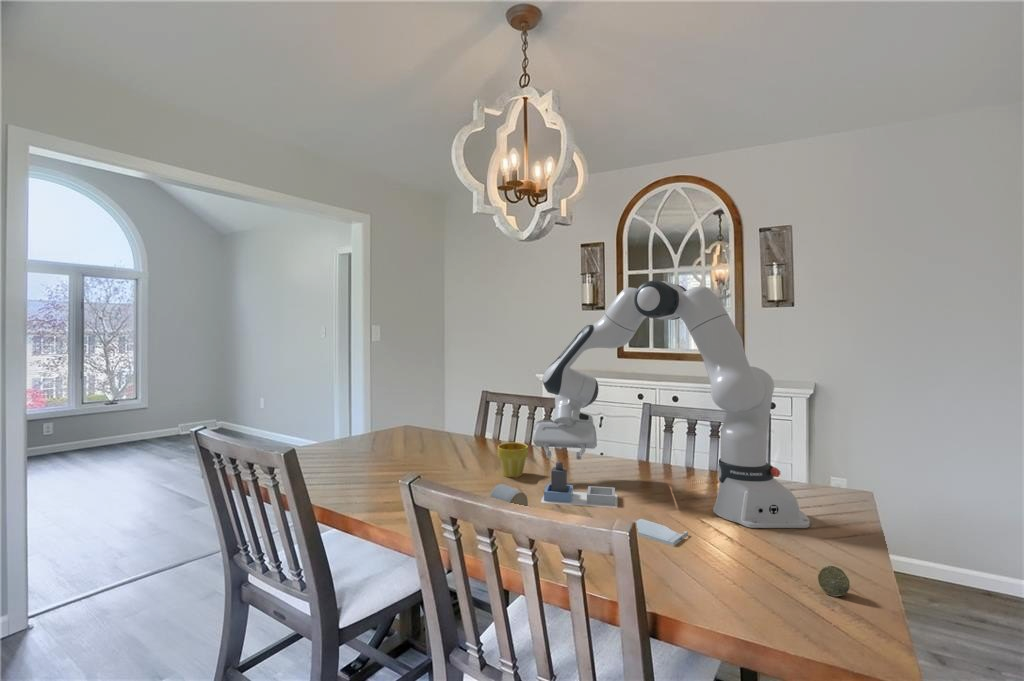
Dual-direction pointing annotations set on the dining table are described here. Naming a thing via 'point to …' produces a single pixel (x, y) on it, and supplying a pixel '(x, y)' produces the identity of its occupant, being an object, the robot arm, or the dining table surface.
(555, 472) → the plug
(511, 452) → the plant pot
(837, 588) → the lime
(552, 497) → the plate
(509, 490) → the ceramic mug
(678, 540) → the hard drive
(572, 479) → the dining table surface
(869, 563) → the dining table surface
